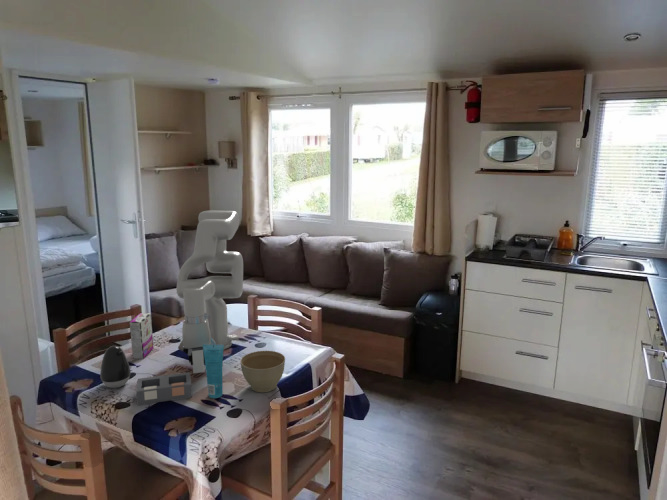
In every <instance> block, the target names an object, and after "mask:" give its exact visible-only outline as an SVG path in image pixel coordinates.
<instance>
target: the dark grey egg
mask: <svg viewBox="0 0 667 500" xmlns="http://www.w3.org/2000/svg"><path fill="white" fill-rule="evenodd" d="M129 363H130V362H129V360H128V358H127V356H126V353H125V352H124V350H123V349H122V348H121V347H120V346H118V345H112V346H109V347H108V348H107V349H106V350H105V351H104V354H103V357H102V360H101V365H100V380H101V382H102V384H103V385H104V386H105V387H107V388H109V389H117V388H120V387H121V388H122V387H123V386H125V385H126V384H127V383H128V381H129V380H130V376H131V367H130V364H129Z"/></svg>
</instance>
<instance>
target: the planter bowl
mask: <svg viewBox="0 0 667 500" xmlns="http://www.w3.org/2000/svg"><path fill="white" fill-rule="evenodd" d="M285 364H286V356H285V355H284V354H282V353H281V352H278V351H275V350H257V351H252V352H249V353H247V354H245V355H244V356H242V357H241V358H240V366H241V373H242V375H243V378H244V379H245V381H246V382H247V384H248V385H249V386H250V389H251V390H252V391H254V392H256V393H267V392H271V391H273V390H275V389H276V388H277V386H278V383H279V382H280V380H281V379H282V377H283V374H284V372H285Z"/></svg>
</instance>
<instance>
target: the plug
mask: <svg viewBox="0 0 667 500" xmlns="http://www.w3.org/2000/svg"><path fill="white" fill-rule="evenodd" d="M191 352H192V357H193V365H192V372H193V374H199V373H204V372H205V364H204V357H203V347H197V348H192V351H191Z"/></svg>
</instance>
